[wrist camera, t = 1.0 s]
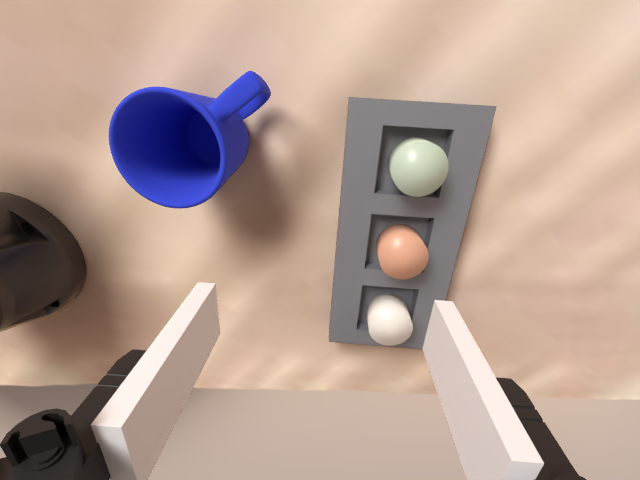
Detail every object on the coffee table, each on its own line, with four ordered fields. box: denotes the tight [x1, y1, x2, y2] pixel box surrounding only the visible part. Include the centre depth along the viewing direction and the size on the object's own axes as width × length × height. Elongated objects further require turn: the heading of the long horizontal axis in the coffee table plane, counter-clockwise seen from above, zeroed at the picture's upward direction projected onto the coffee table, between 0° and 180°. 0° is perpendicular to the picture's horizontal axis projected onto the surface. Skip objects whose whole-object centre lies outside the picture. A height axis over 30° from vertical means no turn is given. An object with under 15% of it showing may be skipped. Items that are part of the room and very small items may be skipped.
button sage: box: [387, 137, 449, 197], centre depth 27 cm, size 4×4×3 cm
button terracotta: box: [376, 224, 429, 279], centre depth 30 cm, size 4×4×3 cm
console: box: [329, 97, 497, 349], centre depth 33 cm, size 12×26×3 cm, turn 177°
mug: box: [109, 71, 271, 208], centre depth 26 cm, size 8×12×10 cm
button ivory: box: [366, 294, 413, 346], centre depth 33 cm, size 4×4×3 cm
